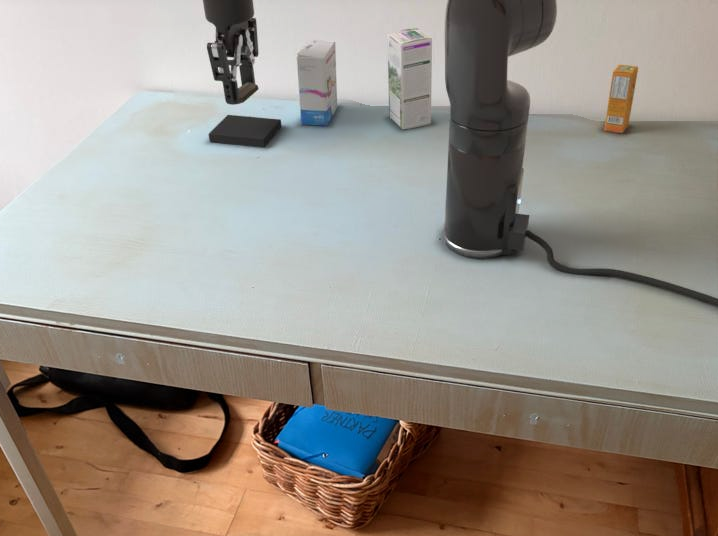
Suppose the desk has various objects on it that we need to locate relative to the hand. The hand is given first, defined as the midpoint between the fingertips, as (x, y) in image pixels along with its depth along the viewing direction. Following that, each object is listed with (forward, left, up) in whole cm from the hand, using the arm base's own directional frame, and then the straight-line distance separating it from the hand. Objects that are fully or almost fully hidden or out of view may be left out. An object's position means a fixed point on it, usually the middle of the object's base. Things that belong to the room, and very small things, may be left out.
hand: (241, 95), depth 123 cm
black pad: (0, 0, -7) cm, 7 cm away
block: (0, 0, -1) cm, 1 cm away
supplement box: (-60, -15, -7) cm, 62 cm away
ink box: (-10, -10, -7) cm, 16 cm away
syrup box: (-26, -11, -7) cm, 29 cm away
